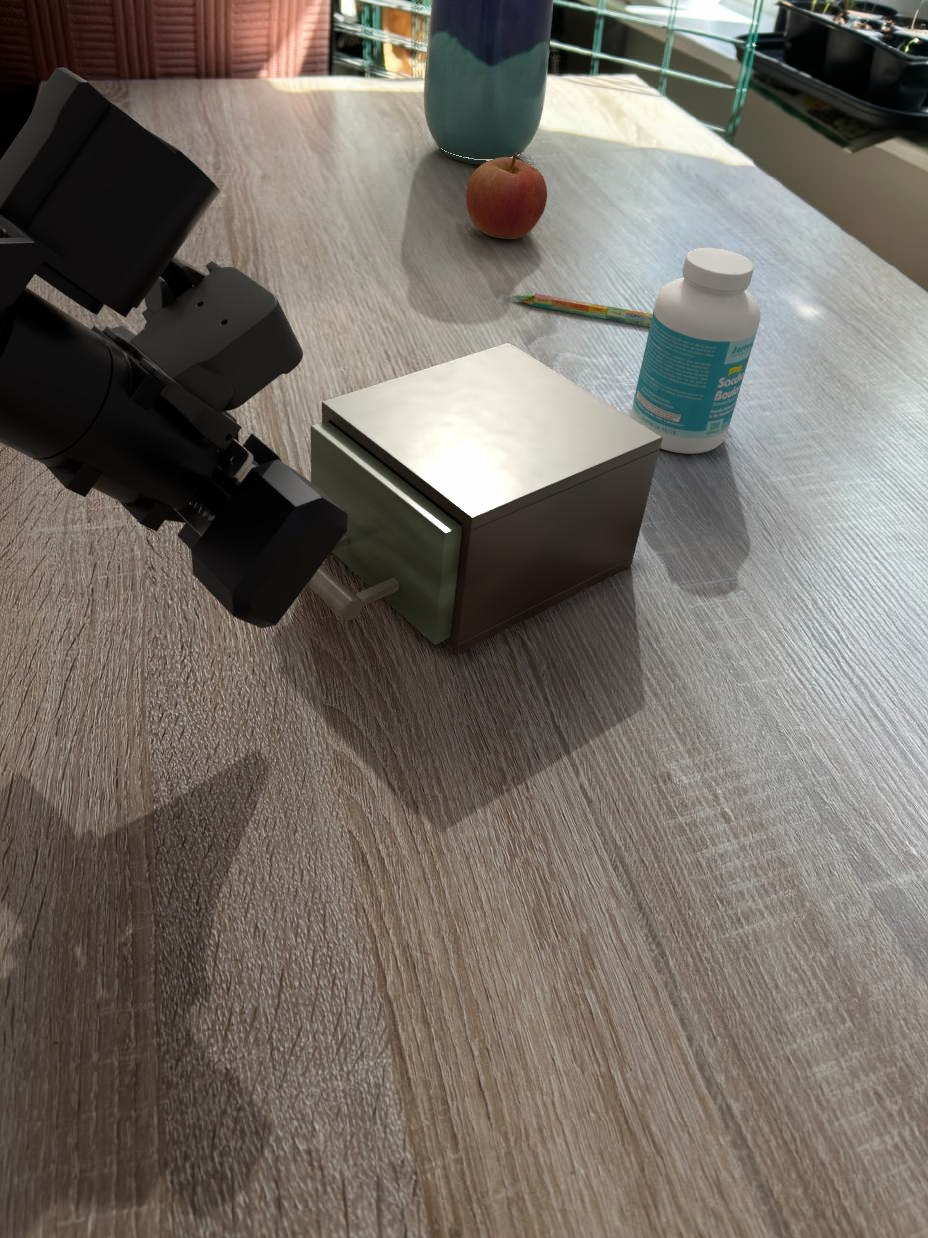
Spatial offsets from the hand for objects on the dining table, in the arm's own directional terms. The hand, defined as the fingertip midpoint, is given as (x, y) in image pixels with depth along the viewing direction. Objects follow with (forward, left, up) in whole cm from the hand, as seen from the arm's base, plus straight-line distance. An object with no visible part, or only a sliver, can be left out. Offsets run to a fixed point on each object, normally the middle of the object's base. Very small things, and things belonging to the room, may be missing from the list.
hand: (295, 527), depth 56 cm
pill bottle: (+30, +21, -7) cm, 37 cm away
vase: (+26, +83, -7) cm, 87 cm away
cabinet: (+12, +7, -7) cm, 15 cm away
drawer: (+8, +5, -6) cm, 12 cm away
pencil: (+30, +40, -8) cm, 50 cm away
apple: (+24, +59, -7) cm, 64 cm away
